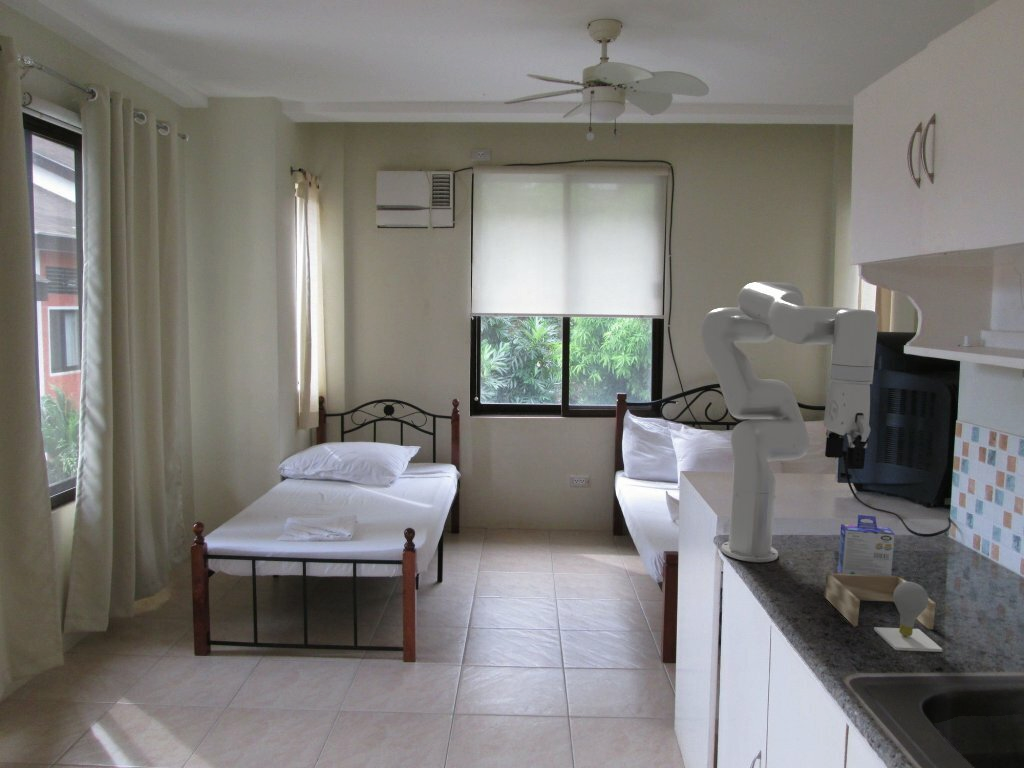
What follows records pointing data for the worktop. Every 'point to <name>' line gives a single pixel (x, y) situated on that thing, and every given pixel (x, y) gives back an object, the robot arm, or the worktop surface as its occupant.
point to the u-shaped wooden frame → (867, 594)
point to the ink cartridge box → (866, 548)
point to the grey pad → (907, 640)
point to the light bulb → (909, 604)
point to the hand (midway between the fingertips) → (843, 462)
